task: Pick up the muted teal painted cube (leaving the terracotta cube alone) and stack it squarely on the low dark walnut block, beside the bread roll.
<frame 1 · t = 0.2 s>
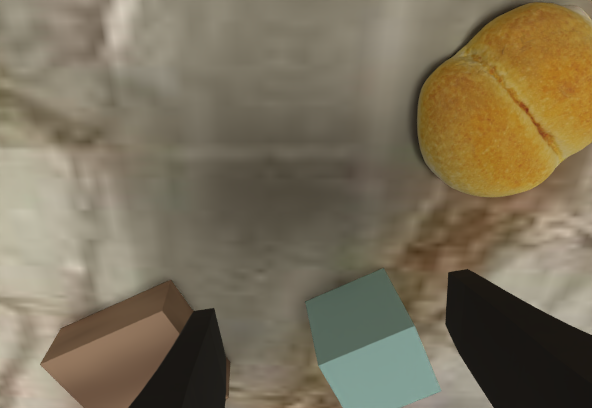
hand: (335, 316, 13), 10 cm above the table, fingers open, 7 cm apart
teal cube: (358, 313, 25), on the table
walnut block: (150, 342, 25), on the table
bread roll: (496, 100, 21), on the table
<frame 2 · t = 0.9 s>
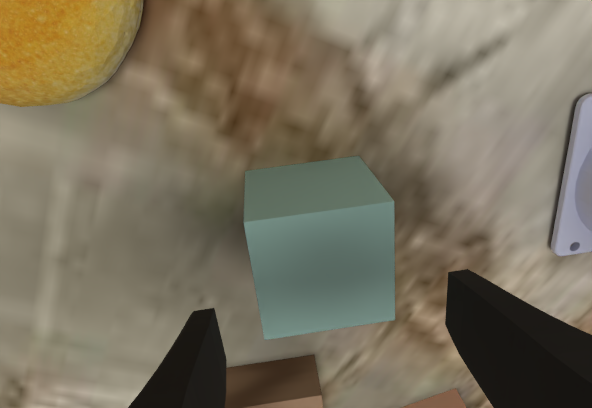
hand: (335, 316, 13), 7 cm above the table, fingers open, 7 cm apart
teal cube: (307, 213, 19), on the table
walnut block: (258, 404, 24), on the table
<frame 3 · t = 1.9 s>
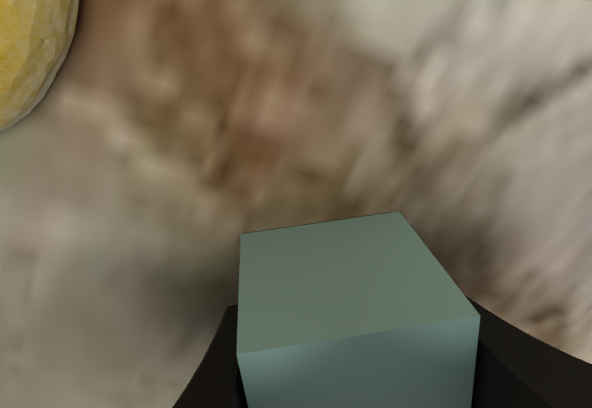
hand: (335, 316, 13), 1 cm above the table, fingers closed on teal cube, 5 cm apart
teal cube: (326, 288, 14), on the table, touching gripper
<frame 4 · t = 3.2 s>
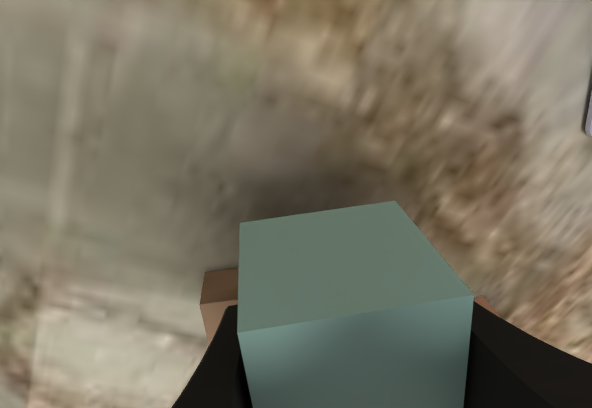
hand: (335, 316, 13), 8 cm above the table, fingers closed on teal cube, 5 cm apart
teal cube: (324, 277, 14), point 7 cm above the table, touching gripper
walnut block: (279, 312, 23), on the table
when the fingers open (6 cm above the table, at t = 4.5 s): teal cube drops 2 cm, resting on walnut block.
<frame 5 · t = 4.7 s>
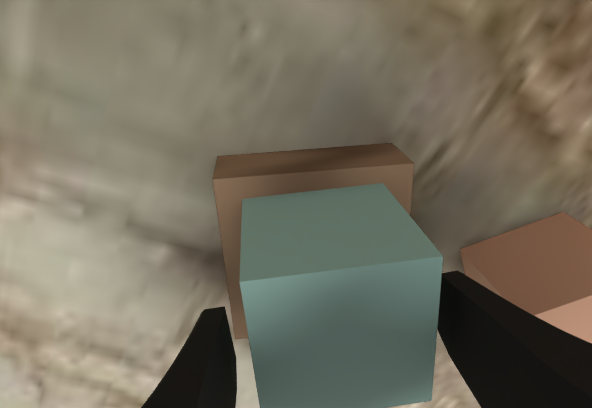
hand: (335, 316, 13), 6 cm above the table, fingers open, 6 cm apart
teal cube: (317, 251, 16), point 3 cm above the table, touching walnut block
terracotta cube: (516, 271, 20), on the table
walnut block: (307, 222, 18), on the table, touching teal cube
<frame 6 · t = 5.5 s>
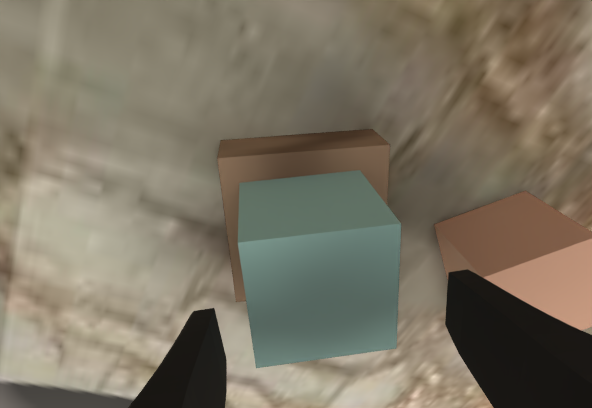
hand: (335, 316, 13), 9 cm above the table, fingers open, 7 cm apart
teal cube: (304, 230, 18), point 3 cm above the table, touching walnut block
terracotta cube: (485, 245, 23), on the table
walnut block: (299, 200, 21), on the table, touching teal cube
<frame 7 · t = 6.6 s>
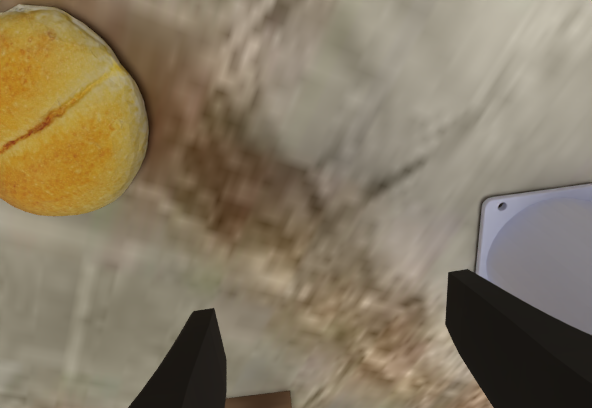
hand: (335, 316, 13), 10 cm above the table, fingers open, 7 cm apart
bread roll: (57, 110, 20), on the table
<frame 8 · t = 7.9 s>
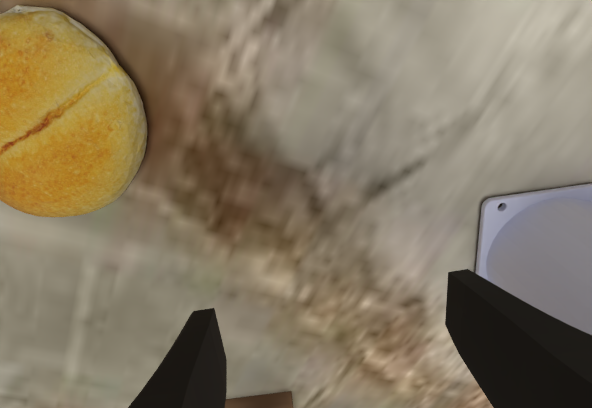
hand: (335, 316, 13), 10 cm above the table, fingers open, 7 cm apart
bread roll: (55, 111, 20), on the table
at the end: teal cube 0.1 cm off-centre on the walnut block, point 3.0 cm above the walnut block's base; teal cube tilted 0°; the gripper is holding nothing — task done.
